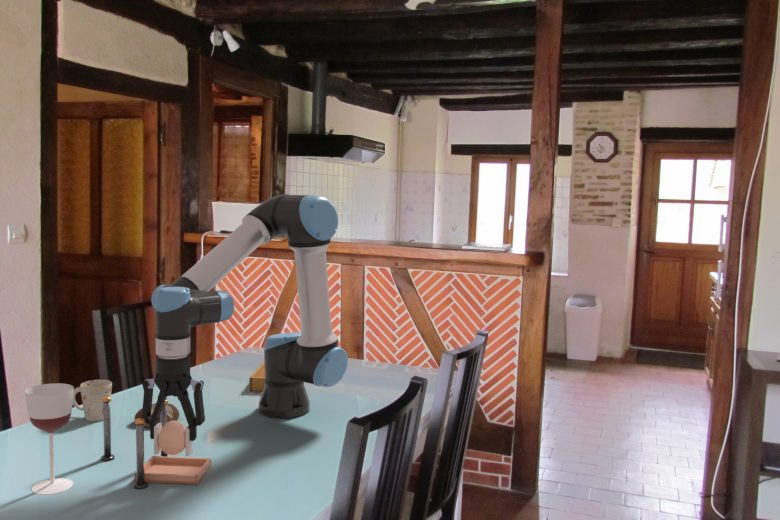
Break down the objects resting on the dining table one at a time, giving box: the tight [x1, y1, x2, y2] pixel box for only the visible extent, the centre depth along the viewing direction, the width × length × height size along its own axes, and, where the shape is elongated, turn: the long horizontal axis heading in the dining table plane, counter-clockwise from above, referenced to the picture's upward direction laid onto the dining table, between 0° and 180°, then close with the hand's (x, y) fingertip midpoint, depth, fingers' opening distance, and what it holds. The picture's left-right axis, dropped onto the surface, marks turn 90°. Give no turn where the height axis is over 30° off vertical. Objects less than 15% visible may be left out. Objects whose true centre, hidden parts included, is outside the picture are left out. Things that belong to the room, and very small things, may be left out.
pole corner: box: [160, 398, 169, 457], centre depth 168 cm, size 3×3×15 cm
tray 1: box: [134, 455, 212, 486], centre depth 161 cm, size 14×10×2 cm
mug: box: [73, 379, 113, 422], centre depth 198 cm, size 8×13×10 cm, turn 78°
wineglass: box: [24, 382, 75, 496], centre depth 153 cm, size 9×10×22 cm
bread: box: [134, 402, 180, 429], centre depth 196 cm, size 11×11×5 cm
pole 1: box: [100, 396, 115, 462], centre depth 169 cm, size 3×3×15 cm
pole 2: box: [133, 418, 149, 490], centre depth 154 cm, size 3×3×15 cm
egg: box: [158, 420, 186, 456], centre depth 161 cm, size 7×7×8 cm
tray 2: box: [248, 360, 265, 393], centre depth 240 cm, size 31×15×6 cm, turn 177°
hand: (173, 452), depth 161 cm, fingers closed on egg, 7 cm apart
